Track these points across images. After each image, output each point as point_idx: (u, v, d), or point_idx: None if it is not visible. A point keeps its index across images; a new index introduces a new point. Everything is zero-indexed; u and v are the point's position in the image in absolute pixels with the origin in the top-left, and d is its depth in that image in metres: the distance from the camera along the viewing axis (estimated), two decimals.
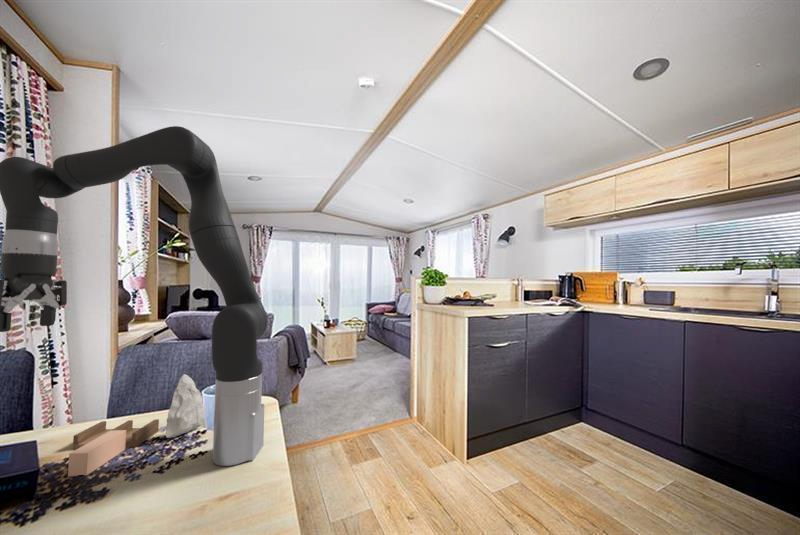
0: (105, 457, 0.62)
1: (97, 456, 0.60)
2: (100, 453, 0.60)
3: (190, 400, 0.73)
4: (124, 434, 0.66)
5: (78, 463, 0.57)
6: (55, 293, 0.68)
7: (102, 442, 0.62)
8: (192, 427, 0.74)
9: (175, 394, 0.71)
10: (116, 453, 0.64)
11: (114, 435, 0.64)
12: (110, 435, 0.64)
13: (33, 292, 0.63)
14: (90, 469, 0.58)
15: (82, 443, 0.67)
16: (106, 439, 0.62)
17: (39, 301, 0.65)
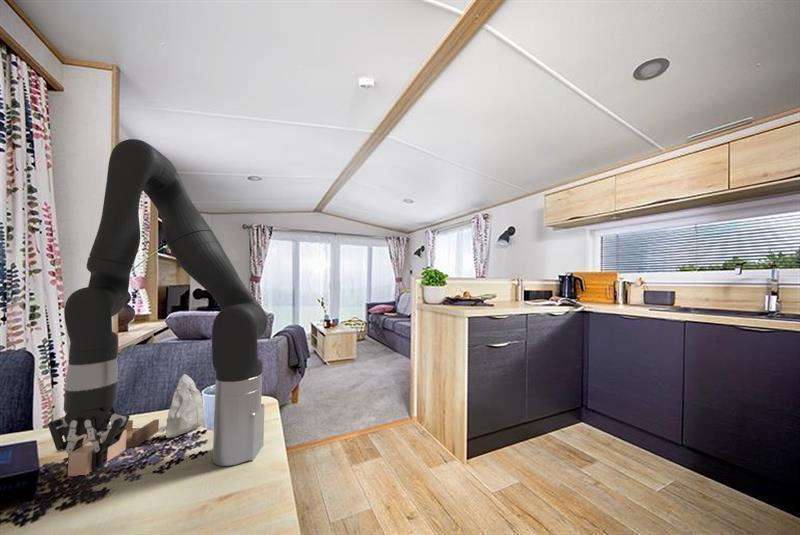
0: None
1: None
2: None
3: (190, 400, 0.73)
4: (124, 434, 0.66)
5: (78, 463, 0.57)
6: (64, 432, 0.59)
7: None
8: (192, 427, 0.74)
9: (175, 394, 0.71)
10: (116, 453, 0.64)
11: None
12: None
13: None
14: (90, 469, 0.58)
15: None
16: None
17: (77, 439, 0.59)
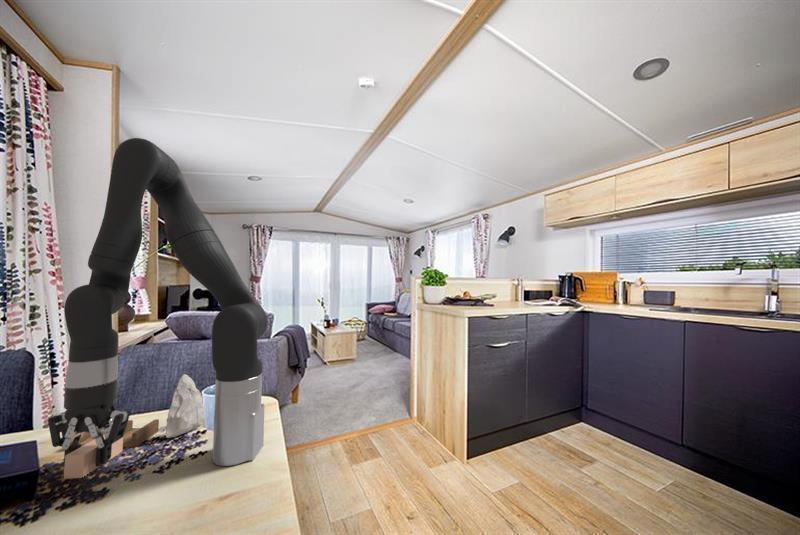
0: None
1: (94, 458, 0.59)
2: None
3: (190, 400, 0.73)
4: None
5: (74, 465, 0.57)
6: (62, 428, 0.59)
7: None
8: (192, 427, 0.74)
9: (175, 394, 0.71)
10: (113, 455, 0.63)
11: None
12: None
13: None
14: (86, 472, 0.58)
15: (82, 443, 0.67)
16: None
17: (75, 436, 0.59)
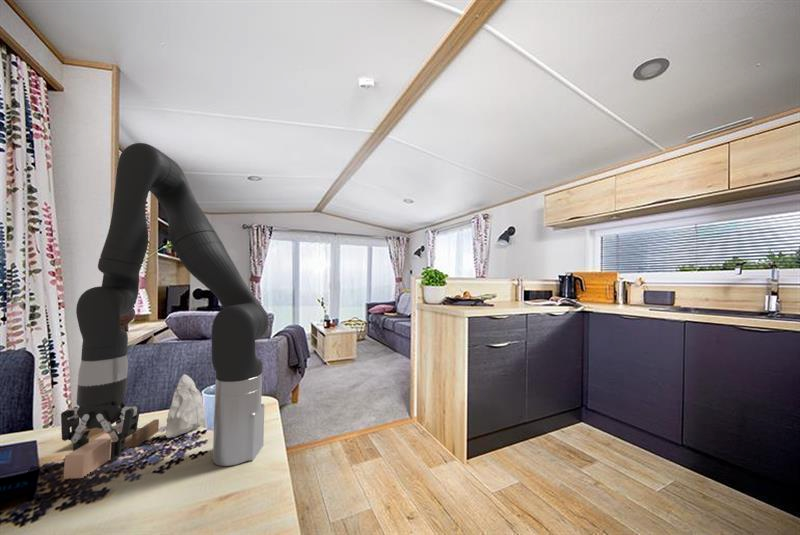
0: (102, 459, 0.61)
1: (94, 458, 0.59)
2: (97, 455, 0.60)
3: (190, 400, 0.73)
4: None
5: (74, 465, 0.57)
6: (73, 423, 0.62)
7: (99, 443, 0.61)
8: (192, 427, 0.74)
9: (175, 394, 0.71)
10: None
11: None
12: (107, 437, 0.63)
13: None
14: (86, 472, 0.58)
15: None
16: (103, 441, 0.62)
17: (84, 431, 0.61)
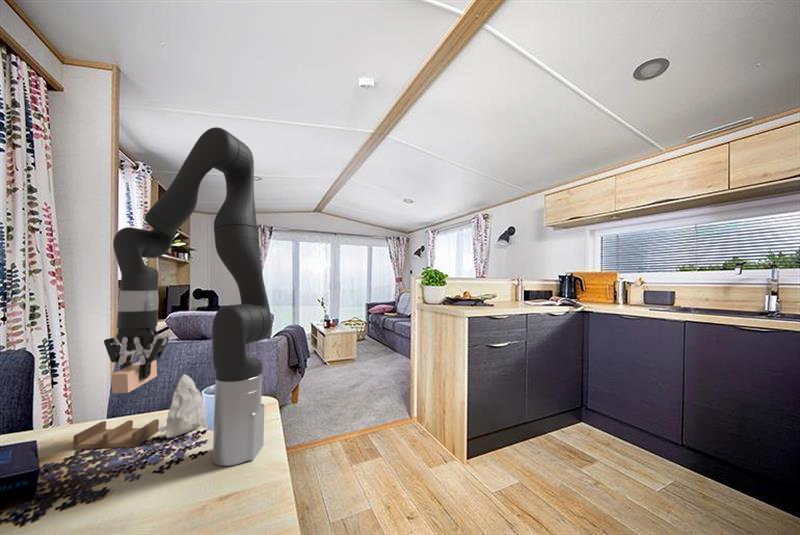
0: None
1: (135, 378, 0.70)
2: (137, 375, 0.70)
3: (190, 400, 0.73)
4: (155, 363, 0.76)
5: (120, 382, 0.67)
6: (116, 349, 0.72)
7: (137, 367, 0.71)
8: (192, 427, 0.74)
9: (175, 394, 0.71)
10: (150, 377, 0.74)
11: None
12: None
13: None
14: (130, 388, 0.68)
15: (82, 443, 0.67)
16: None
17: (127, 354, 0.71)
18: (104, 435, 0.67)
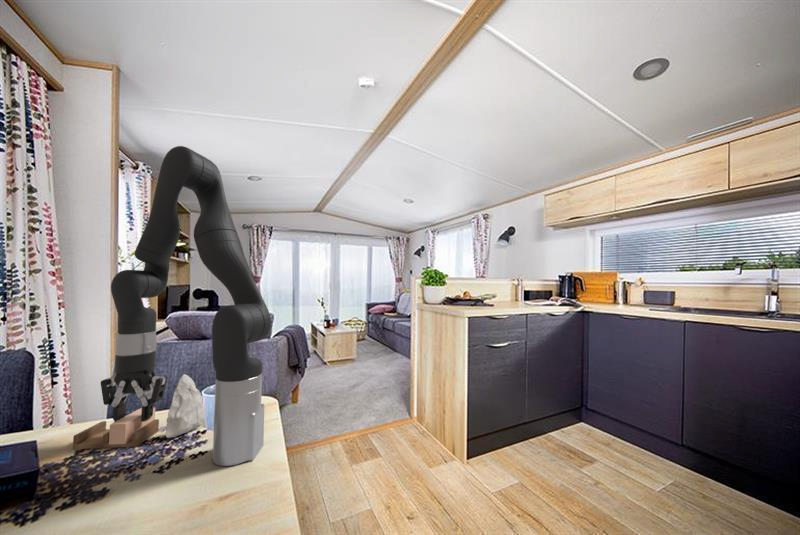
0: None
1: (133, 428, 0.69)
2: (135, 425, 0.70)
3: (190, 400, 0.73)
4: (153, 411, 0.76)
5: (117, 433, 0.67)
6: (111, 390, 0.71)
7: (136, 416, 0.71)
8: (192, 427, 0.74)
9: (175, 394, 0.71)
10: None
11: None
12: None
13: None
14: (127, 438, 0.68)
15: (82, 443, 0.67)
16: (139, 414, 0.72)
17: (122, 397, 0.70)
18: (104, 435, 0.67)
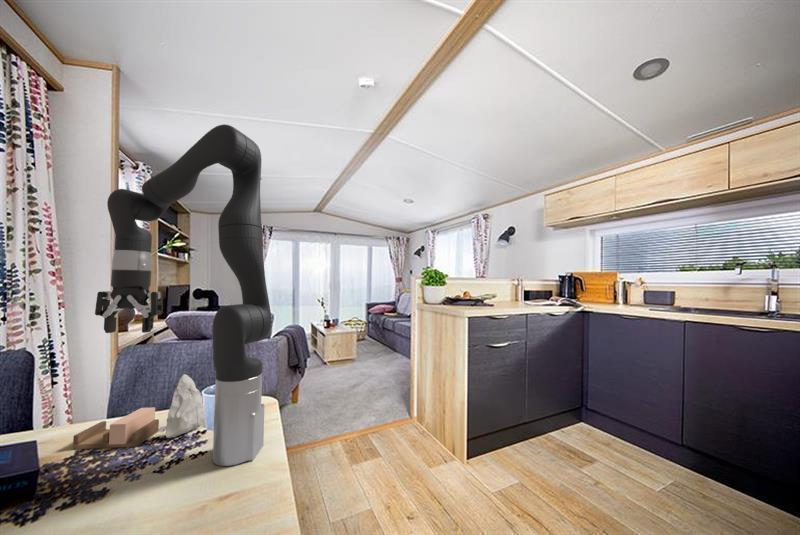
0: None
1: (133, 428, 0.69)
2: (135, 425, 0.70)
3: (190, 400, 0.73)
4: (153, 411, 0.76)
5: (117, 433, 0.67)
6: (105, 303, 0.74)
7: (136, 416, 0.71)
8: (192, 427, 0.74)
9: (175, 394, 0.71)
10: None
11: (145, 411, 0.74)
12: (142, 411, 0.74)
13: None
14: (127, 438, 0.68)
15: (82, 443, 0.67)
16: (139, 414, 0.72)
17: (114, 310, 0.73)
18: (104, 435, 0.67)
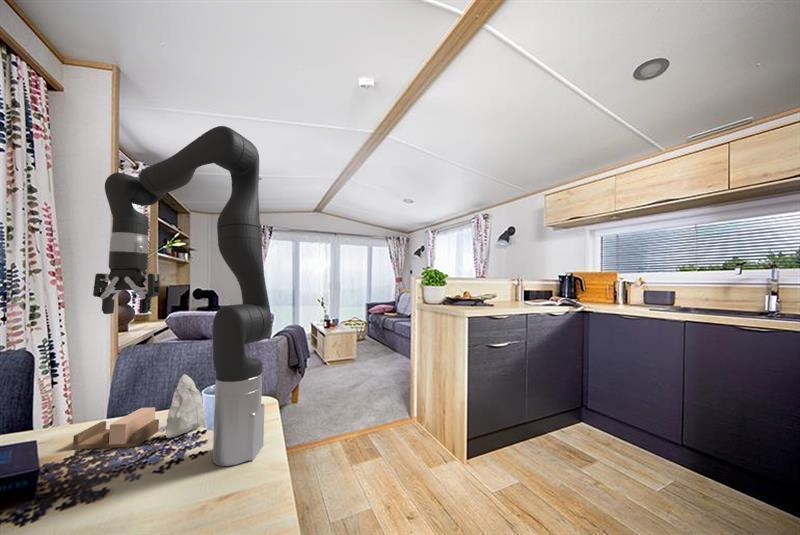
0: None
1: (133, 428, 0.69)
2: (135, 425, 0.70)
3: (190, 400, 0.73)
4: (153, 411, 0.76)
5: (117, 433, 0.67)
6: (103, 285, 0.75)
7: (136, 416, 0.71)
8: (192, 427, 0.74)
9: (175, 394, 0.71)
10: None
11: (145, 411, 0.74)
12: (142, 411, 0.74)
13: None
14: (127, 438, 0.68)
15: (82, 443, 0.67)
16: (139, 414, 0.72)
17: (112, 292, 0.75)
18: (104, 435, 0.67)
